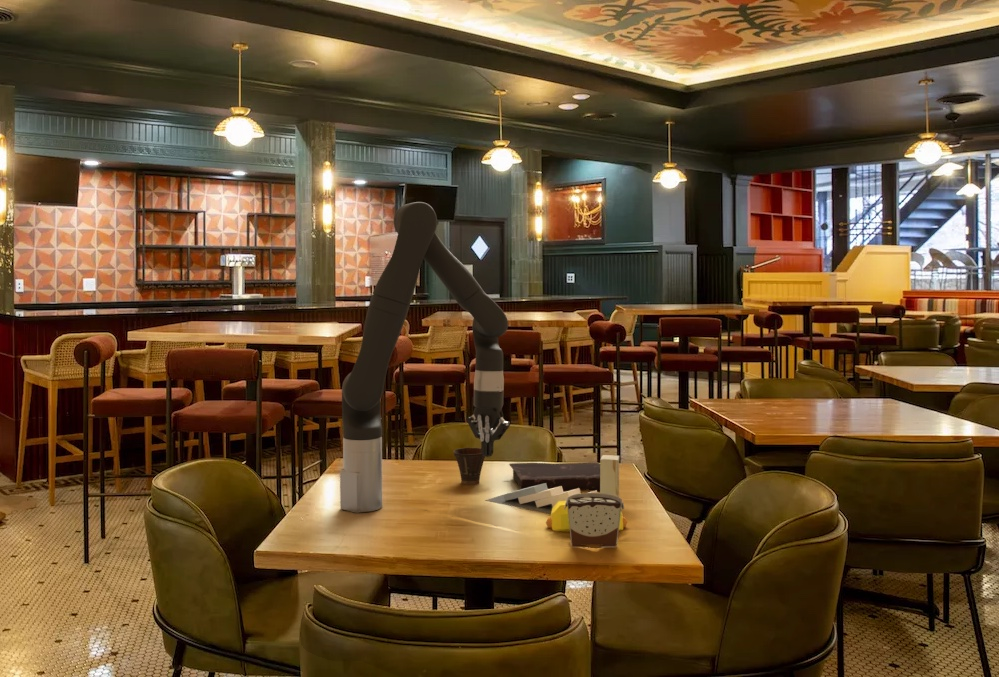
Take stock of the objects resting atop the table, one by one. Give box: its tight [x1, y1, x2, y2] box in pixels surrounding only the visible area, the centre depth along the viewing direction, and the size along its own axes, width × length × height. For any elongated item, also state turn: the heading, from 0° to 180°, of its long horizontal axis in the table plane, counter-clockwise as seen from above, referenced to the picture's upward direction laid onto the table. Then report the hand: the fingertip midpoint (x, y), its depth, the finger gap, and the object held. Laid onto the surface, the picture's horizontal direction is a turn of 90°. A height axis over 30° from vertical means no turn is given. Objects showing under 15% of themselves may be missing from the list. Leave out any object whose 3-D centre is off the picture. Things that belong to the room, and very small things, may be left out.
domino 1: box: [502, 483, 548, 501], centre depth 207 cm, size 5×2×10 cm
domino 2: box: [518, 486, 564, 504], centre depth 204 cm, size 5×2×10 cm
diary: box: [508, 461, 600, 493], centre depth 227 cm, size 19×25×5 cm
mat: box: [485, 494, 553, 515], centre depth 205 cm, size 10×25×1 cm, turn 51°
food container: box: [564, 492, 625, 549], centre depth 176 cm, size 12×6×10 cm, turn 92°
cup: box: [453, 447, 486, 486], centre depth 227 cm, size 9×9×10 cm
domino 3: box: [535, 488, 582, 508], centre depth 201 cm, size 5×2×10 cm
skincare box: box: [599, 454, 620, 498], centre depth 204 cm, size 6×4×12 cm
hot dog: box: [545, 501, 628, 533], centre depth 186 cm, size 18×7×8 cm
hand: (487, 456), depth 214 cm, fingers closed
